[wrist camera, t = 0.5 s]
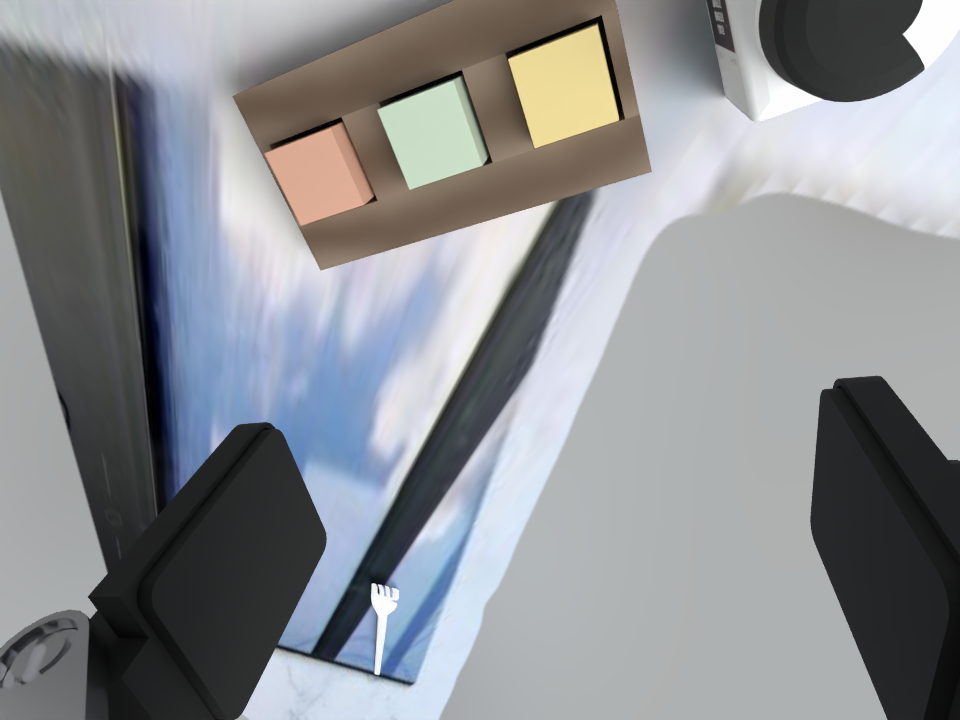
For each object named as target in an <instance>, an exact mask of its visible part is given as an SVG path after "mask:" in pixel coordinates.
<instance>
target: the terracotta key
mask: <svg viewBox="0 0 960 720" xmlns="http://www.w3.org/2000/svg"><path fill="white" fill-rule="evenodd" d="M264 154H265V156H266V158H267V160H268V162H269V164H270V166H271V168H272V170H273V172H274V174H275V176H276V178H277V180H278V182H279V184H280V186H281V188H282V190H283V192H284V194H285V196H286V198H287V200H288V202H289V203H290V205H291V207H292V209H293V211H294V213H295V215H296V217H297V219H298V221H299V223H300V225H301V226H302V225H305V224H308V223H311V222H314V221H317V220H320V219H323V218H326V217H329V216H332V215H335V214H338V213H341V212H344V211H347V210H350V209H353V208H356V207H359V206H362V205H365V204H366V203H367V202H368V201H369V200H370V199H371V198H372V197H374V196H375V193H374V191H373V188H372V186H371V184H370V181H369V179H368V177H367V174H366V172H365V170H364V168H363V165H362V163H361V161H360V158H359V156H358V154H357V151H356V149H355V147H354V145H353V142H352V140H351V138H350V135H349V133H348V131H347V128H346V126H345V124H344V121H342V122H339V123H337V124H334V125H331V126H329V127H326V128H324V129H321V130H318V131H316V132H313V133H311V134H308V135H306V136H303V137H300V138H298V139H295V140H293V141H290V142H288V143H285V144H283V145H281V146H279V147H277V148H275V149H273V150H271V151H269V152H267V153H264Z"/></svg>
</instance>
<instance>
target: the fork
mask: <svg viewBox="0 0 960 720" xmlns="http://www.w3.org/2000/svg"><path fill="white" fill-rule="evenodd" d="M378 586H379V590H380V594H378V593H377V591H378V587H377V585H376V584H375V583H372V589H371V601H372V605H373V607H374V609H375V611H376V613H377V615H378V620H377V641H376V658H375V673H374V674H377V675H380V667H381V659H382V652H383V645H384V639H385V631H386V623H387V615H388V614H389V613H391V612H392V611H393V610H394V609H395V608H396V606H397V603H395V602H393V601H392V600H398V598H399V591H398V590H397V589H396V588H392V590H393V595H392V598H391V597H390V588H389V587H388V586H384V587H385V589H386V596H384V588H383V586H382V585H379V584H378Z"/></svg>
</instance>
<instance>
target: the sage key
mask: <svg viewBox="0 0 960 720" xmlns="http://www.w3.org/2000/svg"><path fill="white" fill-rule="evenodd" d="M377 111H378V113H379V116H380V118H381V121H382V123H383V126H384V128H385V131H386V133H387V136H388V138H389V140H390V143H391V145H392V148H393V150H394V153H395V155H396V158H397V160H398V163H399V165H400V168H401V170H402V173H403V175H404V177H405V180H406V182H407V185H408V187H409V190H411V189H414V188H417V187H420V186H423V185H426V184H429V183H432V182H435V181H438V180H441V179H444V178H447V177H450V176H453V175H456V174H459V173H462V172H465V171H468V170H471V169H474V168H477V167H480V166H483V164H484V163H485V161H486V160H487V158H488V157H489V156H490V153H489V150H488V147H487V144H486V141H485V138H484V135H483V132H482V129H481V126H480V123H479V120H478V117H477V114H476V111H475V108H474V105H473V102H472V99H471V96H470V93H469V90H468V87H467V84H466V81H465V78H464V75H460V76H458V77H455V78H453V79H450V80H447V81H445V82H442V83H440V84H437V85H435V86H432V87H429V88H427V89H424V90H422V91H419V92H416V93H414V94H411V95H409V96H406V97H404V98H401V99H398V100H396V101H393V102H391V103H389V104H387V105H386V106H384V107H382V108H380V109H378V110H377Z"/></svg>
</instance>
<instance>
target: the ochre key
mask: <svg viewBox="0 0 960 720" xmlns="http://www.w3.org/2000/svg"><path fill="white" fill-rule="evenodd" d="M508 61H509V64H510V67H511V71H512V74H513V77H514V81H515V84H516V88H517V91H518V94H519V98H520V101H521V104H522V108H523V111H524V114H525V118H526V121H527V124H528V128H529V131H530V134H531V138H532V141H533V145H534V148H538V147H541V146H544V145H547V144H550V143H553V142H556V141H559V140H562V139H565V138H568V137H571V136H574V135H577V134H580V133H583V132H586V131H589V130H592V129H595V128H598V127H601V126H604V125H607V124H610V123H613V122H616V121H619V114H618V108H617V104H616V100H615V95H614V91H613V86H612V82H611V78H610V73H609V69H608V65H607V60H606V56H605V51H604V47H603V43H602V38H601V34H600V30H599V25H598V22H597V23H594V24H592V25H589V26H587V27H584V28H581V29H579V30H576V31H574V32H571V33H569V34H566V35H563V36H561V37H558V38H556V39H553V40H551V41H548V42H545V43H543V44H540V45H538V46H535V47H533V48H530V49H527V50H525V51H522V52H520V53H517V54H515V55H513V56H512V57H511V58H509V59H508Z"/></svg>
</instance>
